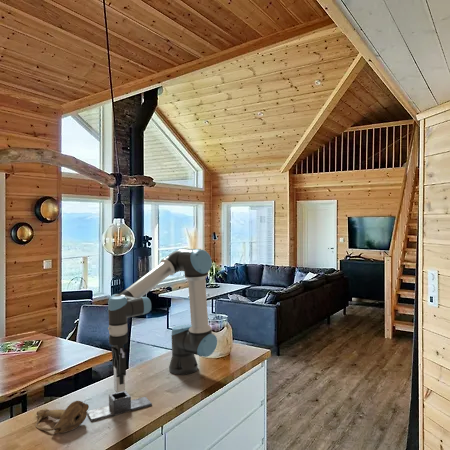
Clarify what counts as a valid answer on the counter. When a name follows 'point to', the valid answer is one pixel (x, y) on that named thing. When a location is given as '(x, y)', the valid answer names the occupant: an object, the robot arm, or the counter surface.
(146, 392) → the counter surface
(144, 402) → the square socket bracket
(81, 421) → the sword hilt
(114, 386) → the beige rectangular block
